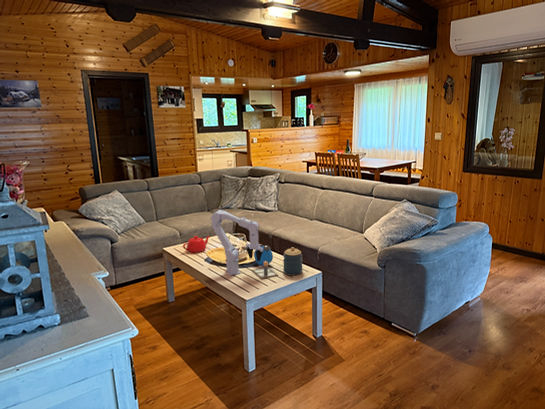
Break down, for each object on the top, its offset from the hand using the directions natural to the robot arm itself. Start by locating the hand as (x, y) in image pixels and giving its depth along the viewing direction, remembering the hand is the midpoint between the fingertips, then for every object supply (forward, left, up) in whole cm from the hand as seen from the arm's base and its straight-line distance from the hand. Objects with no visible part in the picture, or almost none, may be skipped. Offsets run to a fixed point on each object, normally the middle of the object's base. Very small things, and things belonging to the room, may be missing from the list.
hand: (254, 259), depth 244 cm
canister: (+9, +24, -11) cm, 28 cm away
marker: (+6, +5, -10) cm, 12 cm away
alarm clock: (-13, +12, -11) cm, 21 cm away
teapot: (-68, -22, -11) cm, 72 cm away
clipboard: (+2, +6, -10) cm, 12 cm away
